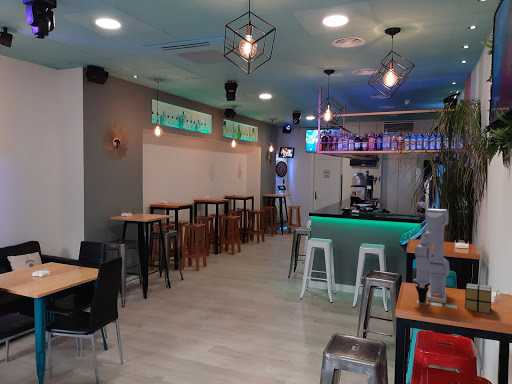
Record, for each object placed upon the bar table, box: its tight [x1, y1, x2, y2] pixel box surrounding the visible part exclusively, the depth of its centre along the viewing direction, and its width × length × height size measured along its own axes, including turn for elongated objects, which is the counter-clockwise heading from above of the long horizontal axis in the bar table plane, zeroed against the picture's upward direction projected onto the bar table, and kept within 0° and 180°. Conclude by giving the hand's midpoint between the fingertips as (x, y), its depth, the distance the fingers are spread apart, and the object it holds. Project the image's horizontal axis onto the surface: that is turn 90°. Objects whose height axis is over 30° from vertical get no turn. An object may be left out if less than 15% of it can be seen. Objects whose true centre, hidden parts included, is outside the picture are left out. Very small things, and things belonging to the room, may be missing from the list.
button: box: [431, 293, 443, 298], centre depth 187 cm, size 5×5×3 cm
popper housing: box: [426, 292, 447, 304], centre depth 187 cm, size 8×8×2 cm
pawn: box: [418, 293, 428, 305], centre depth 182 cm, size 3×3×7 cm
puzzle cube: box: [464, 283, 493, 314], centre depth 176 cm, size 10×10×10 cm
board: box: [416, 299, 458, 309], centre depth 180 cm, size 6×18×1 cm, turn 64°
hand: (422, 299), depth 182 cm, fingers open, 7 cm apart
